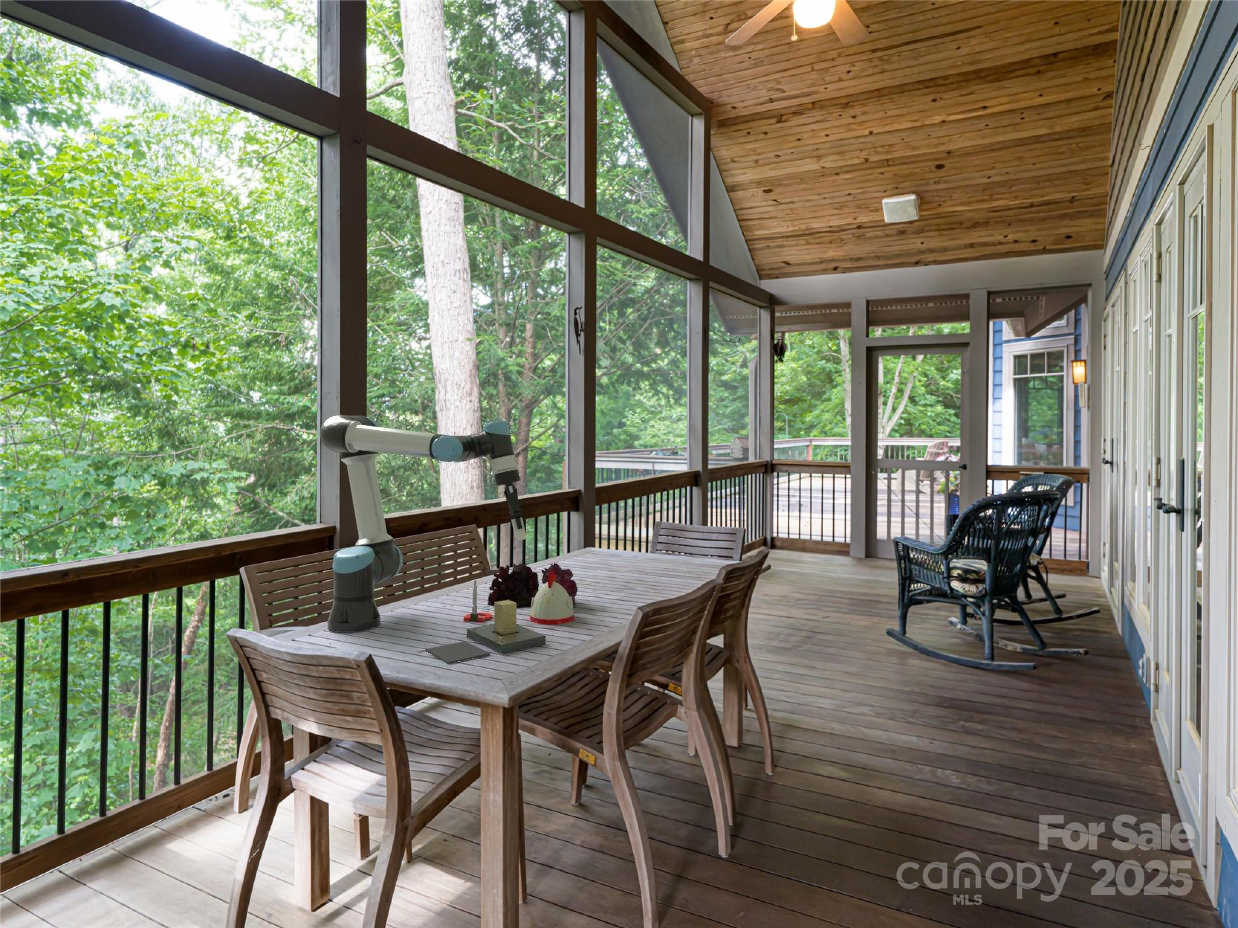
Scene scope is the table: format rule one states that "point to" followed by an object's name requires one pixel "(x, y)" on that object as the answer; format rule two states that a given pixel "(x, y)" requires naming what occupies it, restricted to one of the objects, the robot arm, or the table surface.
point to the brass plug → (505, 617)
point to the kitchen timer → (551, 604)
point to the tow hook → (474, 614)
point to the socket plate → (506, 638)
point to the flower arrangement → (527, 584)
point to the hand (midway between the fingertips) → (521, 538)
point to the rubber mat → (457, 652)
